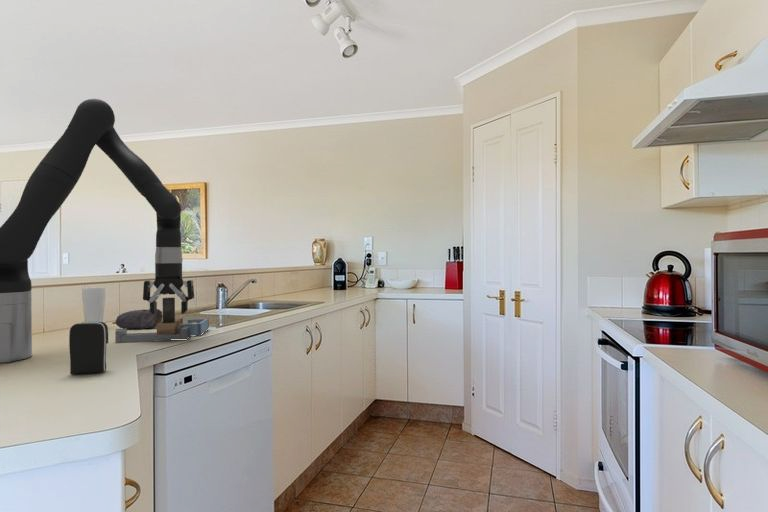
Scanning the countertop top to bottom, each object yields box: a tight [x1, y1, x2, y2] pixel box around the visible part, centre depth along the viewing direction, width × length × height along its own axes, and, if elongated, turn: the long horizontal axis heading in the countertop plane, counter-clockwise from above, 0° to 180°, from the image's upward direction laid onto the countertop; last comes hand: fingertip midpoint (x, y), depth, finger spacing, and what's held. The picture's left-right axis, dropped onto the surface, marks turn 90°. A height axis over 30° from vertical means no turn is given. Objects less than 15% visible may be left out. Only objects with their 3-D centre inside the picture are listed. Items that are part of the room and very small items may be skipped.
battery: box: [68, 321, 109, 375], centre depth 96 cm, size 7×4×11 cm, turn 102°
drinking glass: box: [81, 286, 106, 322], centre depth 151 cm, size 7×7×15 cm
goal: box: [179, 318, 210, 336], centre depth 143 cm, size 11×7×4 cm, turn 9°
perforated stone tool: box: [115, 308, 163, 330], centre depth 153 cm, size 15×5×7 cm, turn 98°
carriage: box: [156, 297, 184, 334], centre depth 137 cm, size 16×5×13 cm, turn 9°
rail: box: [114, 327, 191, 344], centre depth 132 cm, size 4×20×4 cm, turn 99°
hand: (169, 313), depth 133 cm, fingers open, 8 cm apart
